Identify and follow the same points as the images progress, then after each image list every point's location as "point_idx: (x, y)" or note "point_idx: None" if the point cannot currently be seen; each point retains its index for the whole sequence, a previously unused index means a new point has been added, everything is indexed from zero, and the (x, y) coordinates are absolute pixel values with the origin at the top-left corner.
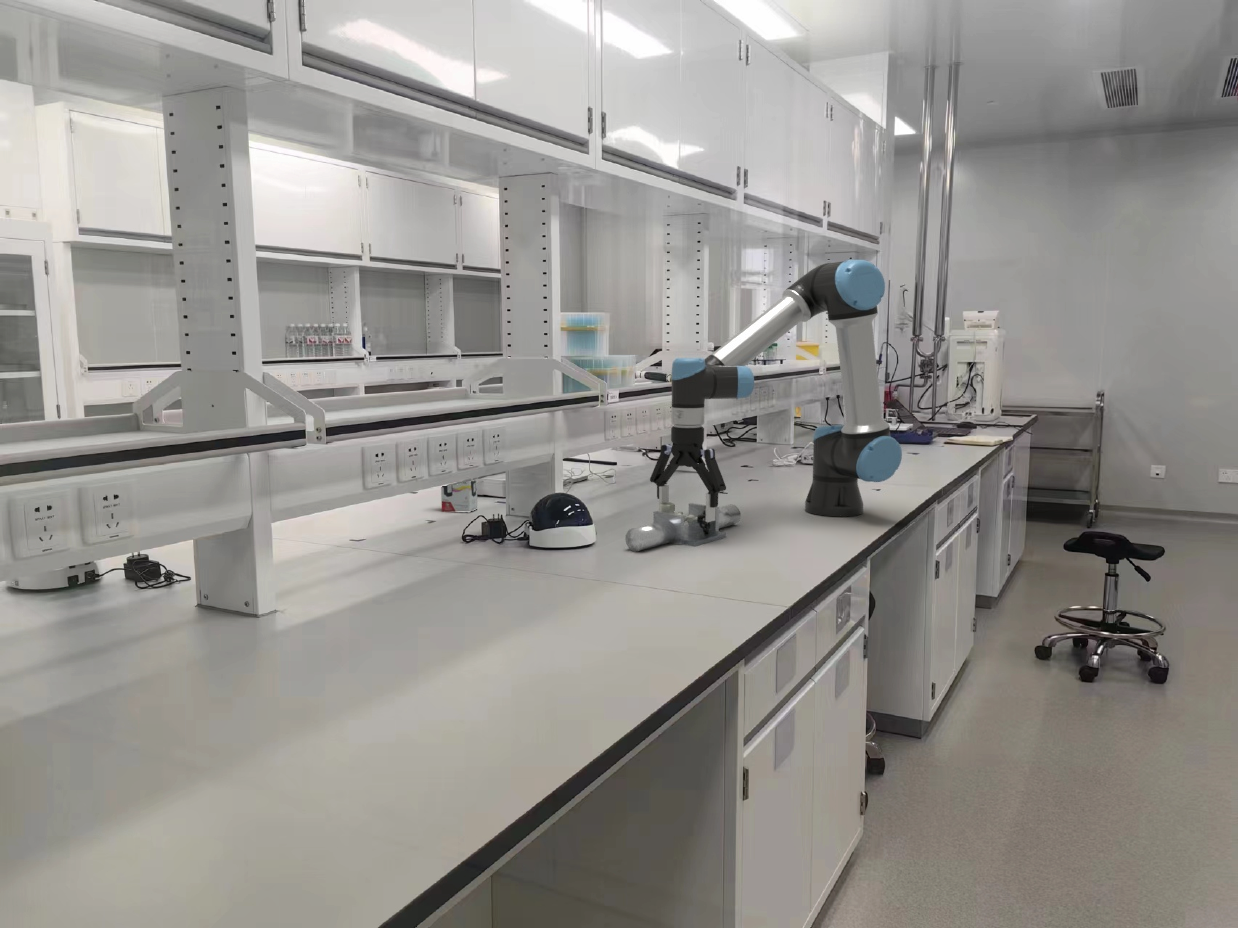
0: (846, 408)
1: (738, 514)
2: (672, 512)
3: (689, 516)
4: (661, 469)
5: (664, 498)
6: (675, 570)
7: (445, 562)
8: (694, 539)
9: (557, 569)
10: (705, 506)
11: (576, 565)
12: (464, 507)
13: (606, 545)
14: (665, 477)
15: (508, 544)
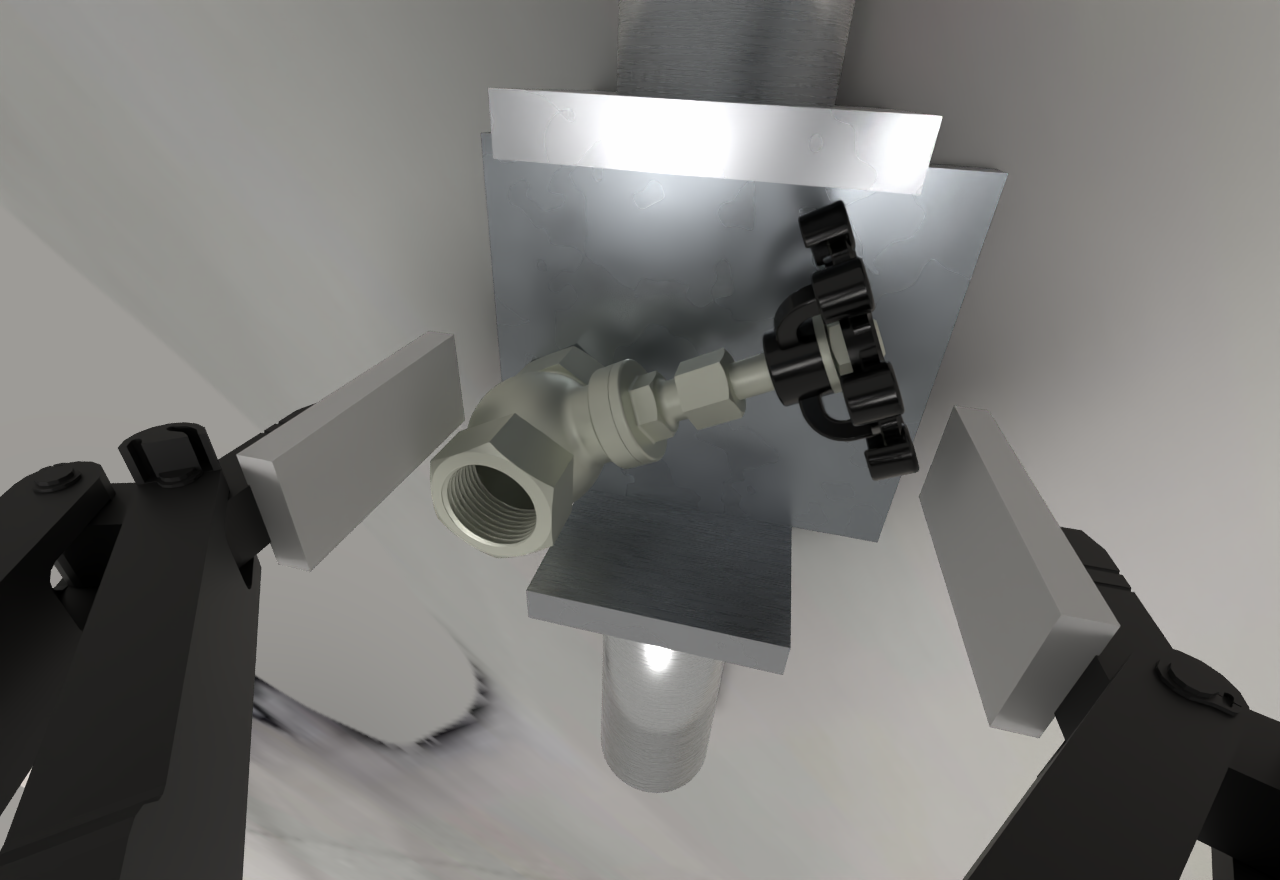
0: None
1: None
2: (575, 476)
3: (710, 420)
4: (15, 679)
5: (385, 450)
6: (964, 837)
7: (381, 861)
8: (846, 495)
9: (617, 870)
10: (864, 424)
11: (629, 841)
12: None
13: (512, 652)
14: (251, 662)
15: (301, 727)
